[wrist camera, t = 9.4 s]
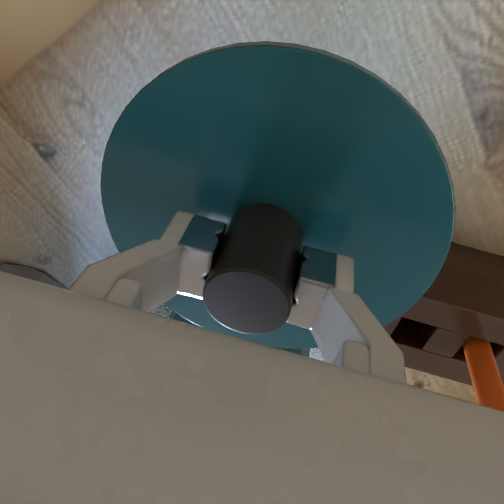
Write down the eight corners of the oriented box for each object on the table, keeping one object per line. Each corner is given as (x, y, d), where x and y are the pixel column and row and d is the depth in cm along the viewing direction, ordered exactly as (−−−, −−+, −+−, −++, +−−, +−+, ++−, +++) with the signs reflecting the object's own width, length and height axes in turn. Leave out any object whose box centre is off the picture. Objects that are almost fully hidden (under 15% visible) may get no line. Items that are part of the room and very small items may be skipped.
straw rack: (528, 334, 30) (561, 411, 25) (347, 284, 30) (346, 350, 25) (583, 278, 26) (633, 355, 22) (377, 222, 26) (383, 285, 22)
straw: (473, 281, 28) (596, 641, 14) (455, 292, 29) (554, 643, 15) (459, 270, 27) (569, 626, 14) (441, 281, 28) (528, 629, 14)
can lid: (404, -49, 9) (430, -31, 6) (473, 303, 15) (506, 412, 12) (49, 120, 14) (-47, 184, 10) (206, 344, 19) (175, 432, 16)
